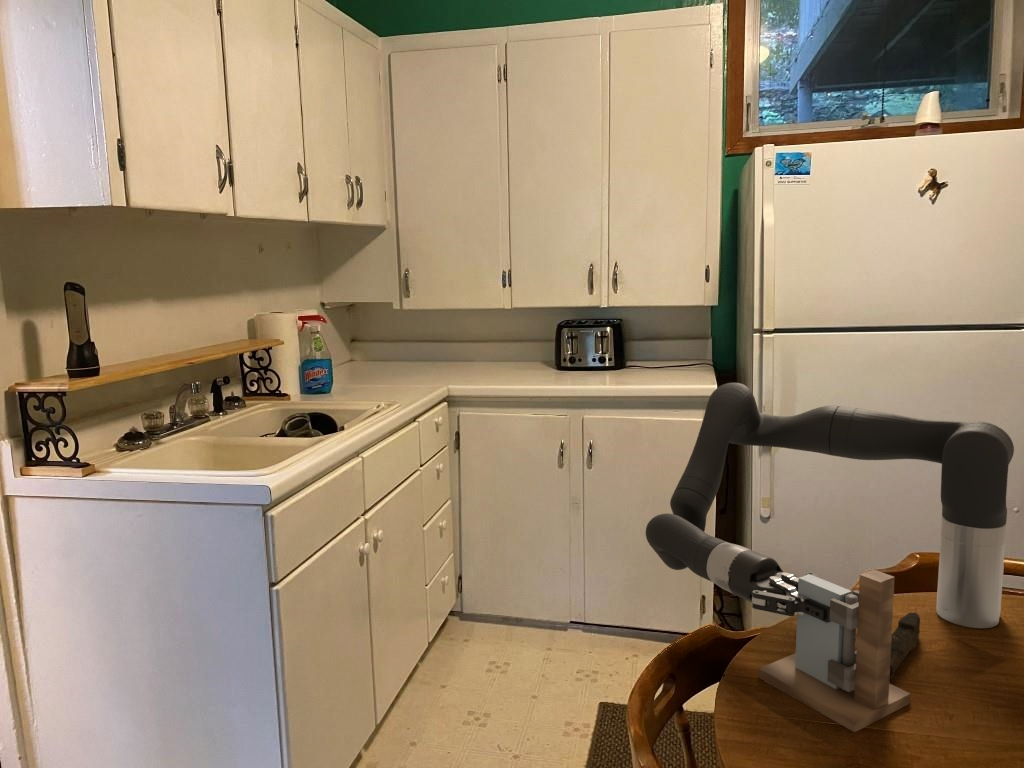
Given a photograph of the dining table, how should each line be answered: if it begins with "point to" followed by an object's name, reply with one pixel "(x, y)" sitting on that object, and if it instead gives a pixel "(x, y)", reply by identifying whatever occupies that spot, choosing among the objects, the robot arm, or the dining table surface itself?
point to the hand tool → (904, 640)
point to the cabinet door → (823, 631)
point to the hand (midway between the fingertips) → (836, 613)
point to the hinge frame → (870, 671)
